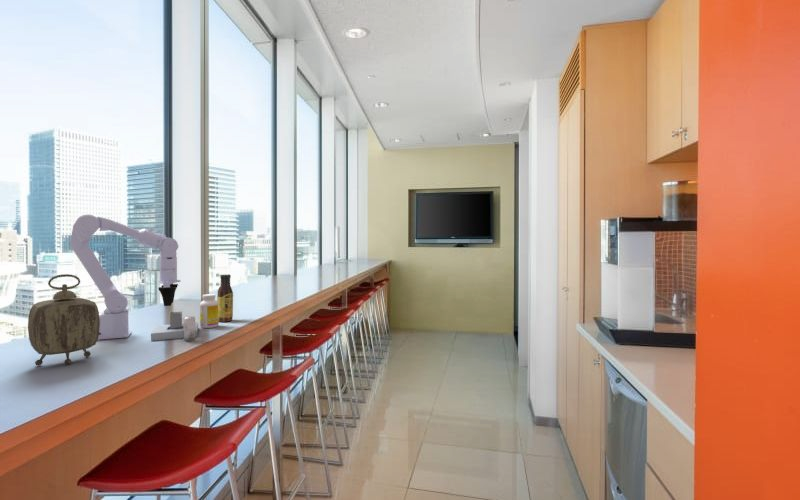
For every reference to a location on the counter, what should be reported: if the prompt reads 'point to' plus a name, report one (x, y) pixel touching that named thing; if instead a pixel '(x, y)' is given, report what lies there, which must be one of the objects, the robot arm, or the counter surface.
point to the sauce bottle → (225, 299)
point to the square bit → (176, 320)
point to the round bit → (189, 329)
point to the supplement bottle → (209, 311)
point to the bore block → (169, 332)
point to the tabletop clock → (63, 323)
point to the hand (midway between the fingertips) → (168, 304)
